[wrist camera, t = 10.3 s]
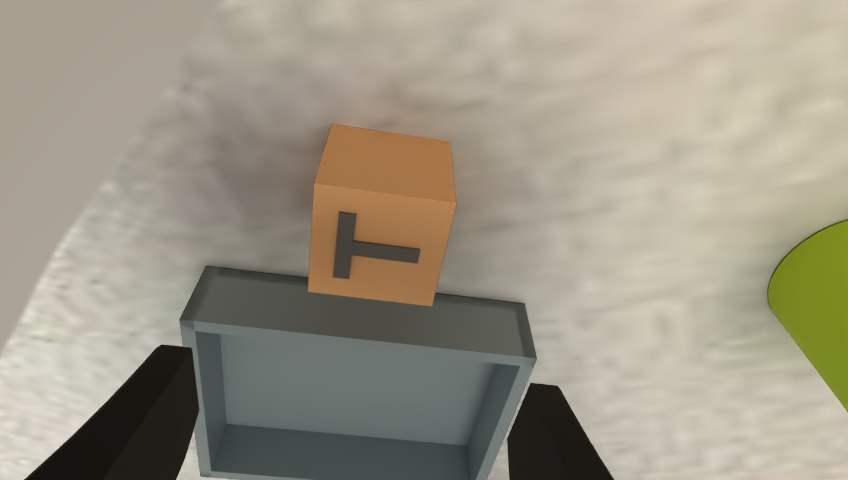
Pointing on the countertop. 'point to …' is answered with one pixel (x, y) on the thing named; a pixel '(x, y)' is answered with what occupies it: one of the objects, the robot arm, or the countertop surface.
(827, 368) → the soap dispenser
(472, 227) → the countertop surface
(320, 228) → the letter cube
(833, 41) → the countertop surface
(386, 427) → the bin
